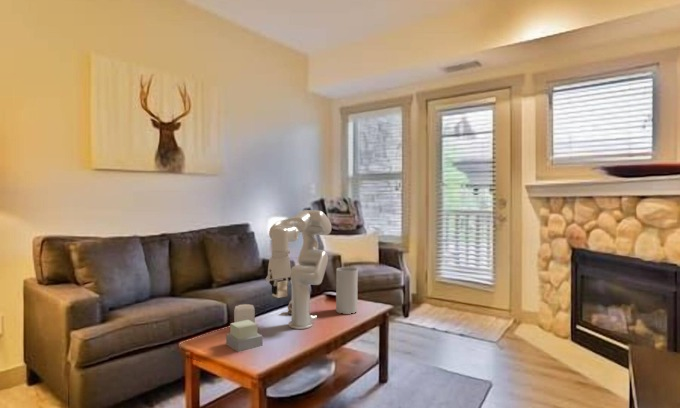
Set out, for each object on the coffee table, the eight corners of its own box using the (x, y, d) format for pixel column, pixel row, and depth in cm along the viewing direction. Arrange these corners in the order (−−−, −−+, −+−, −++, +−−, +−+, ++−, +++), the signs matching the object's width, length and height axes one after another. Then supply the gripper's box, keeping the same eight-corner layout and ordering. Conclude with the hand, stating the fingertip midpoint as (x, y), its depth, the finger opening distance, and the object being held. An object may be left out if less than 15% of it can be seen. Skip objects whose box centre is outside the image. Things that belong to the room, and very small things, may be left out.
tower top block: (248, 330, 197) (248, 319, 196) (257, 335, 190) (257, 324, 190) (230, 334, 191) (230, 323, 191) (239, 339, 184) (239, 328, 184)
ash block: (281, 293, 197) (281, 279, 196) (287, 296, 193) (287, 281, 192) (272, 295, 193) (272, 280, 193) (278, 297, 190) (278, 282, 189)
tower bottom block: (249, 339, 199) (249, 328, 198) (262, 346, 189) (262, 335, 189) (226, 345, 191) (226, 334, 191) (238, 353, 182) (238, 341, 181)
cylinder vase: (336, 308, 251) (337, 267, 251) (357, 308, 251) (357, 267, 250) (335, 314, 239) (336, 271, 238) (357, 314, 238) (357, 271, 238)
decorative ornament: (285, 312, 241) (285, 286, 241) (297, 310, 245) (298, 285, 245) (291, 316, 235) (291, 289, 234) (303, 314, 239) (303, 288, 238)
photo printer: (234, 330, 209) (234, 306, 209) (234, 327, 214) (234, 303, 213) (254, 329, 212) (255, 305, 211) (254, 326, 216) (254, 302, 216)
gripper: (290, 251, 201) (290, 288, 201) (259, 254, 190) (259, 294, 190) (299, 253, 195) (299, 291, 196) (268, 257, 184) (268, 297, 185)
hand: (279, 292), depth 193 cm, fingers closed on ash block, 5 cm apart
